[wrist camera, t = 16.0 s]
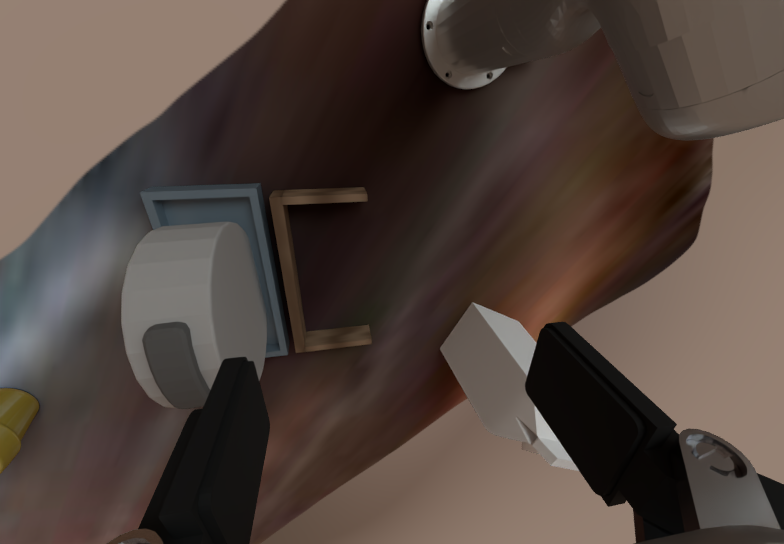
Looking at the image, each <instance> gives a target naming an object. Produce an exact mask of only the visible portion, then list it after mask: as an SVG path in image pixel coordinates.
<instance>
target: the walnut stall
mask: <svg viewBox="0 0 784 544" xmlns="http://www.w3.org/2000/svg"><path fill="white" fill-rule="evenodd" d="M269 200H270V206H271V212H272V218H273V223H274V229H275V235H276V241H277V246H278V252H279V258H280V264H281V269H282V275H283V281H284V287H285V293H286V298H287V304H288V310H289V316H290V321H291V327H292V333H293V339H294V344H295V350H296V353H301V352H309V351H317V350H325V349H334V348H342V347H350V346H358V345H366V344H372V338H371V334H370V329H369V325H362V326H353V327H344V328H335V329H326V330H317V331H308V332H306V328H305V321H304V314H303V308H302V301H301V294H300V287H299V281H298V274H297V267H296V261H295V254H294V247H293V240H292V234H291V227H290V220H289V213H288V207H287V205H295V204H317V203H340V202H363V201H367V192H366V191H365V189H364V187H355V188H328V189H300V190H273V192H272V194H271V195H270V197H269Z"/></svg>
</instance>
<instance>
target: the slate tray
mask: <svg viewBox="0 0 784 544" xmlns="http://www.w3.org/2000/svg"><path fill="white" fill-rule="evenodd" d="M140 195H141V197H142V200H143V203H144V206H145V209H146V211H147V214H148V217H149V220H150V223H151V225H152V228H153V230H155V229H157V228H160V227H162V226H174V225H187V224H201V223H215V222H233V223H237V224H238V225H239V226H240V227H241V228H242V229H243V230H244V231H245V232H246V234H247V236H248V238H249V241H250V245H251V250H252V254H253V258H254V262H255V266H256V270H257V274H258V278H259V283H260V287H261V291H262V295H263V299H264V303H265V307H266V313H267V343H266V355H265V358H266V357H275V356H283V355H288V350H289V337H288V332H287V326H286V321H285V315H284V310H283V304H282V299H281V293H280V288H279V282H278V277H277V271H276V266H275V260H274V255H273V249H272V244H271V238H270V233H269V227H268V222H267V217H266V211H265V206H264V200H263V195H262V189H261V184H260V183H255V184H225V185H194V186H163V187H150V188H148V189H146V190H144V191H141V192H140Z"/></svg>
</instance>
